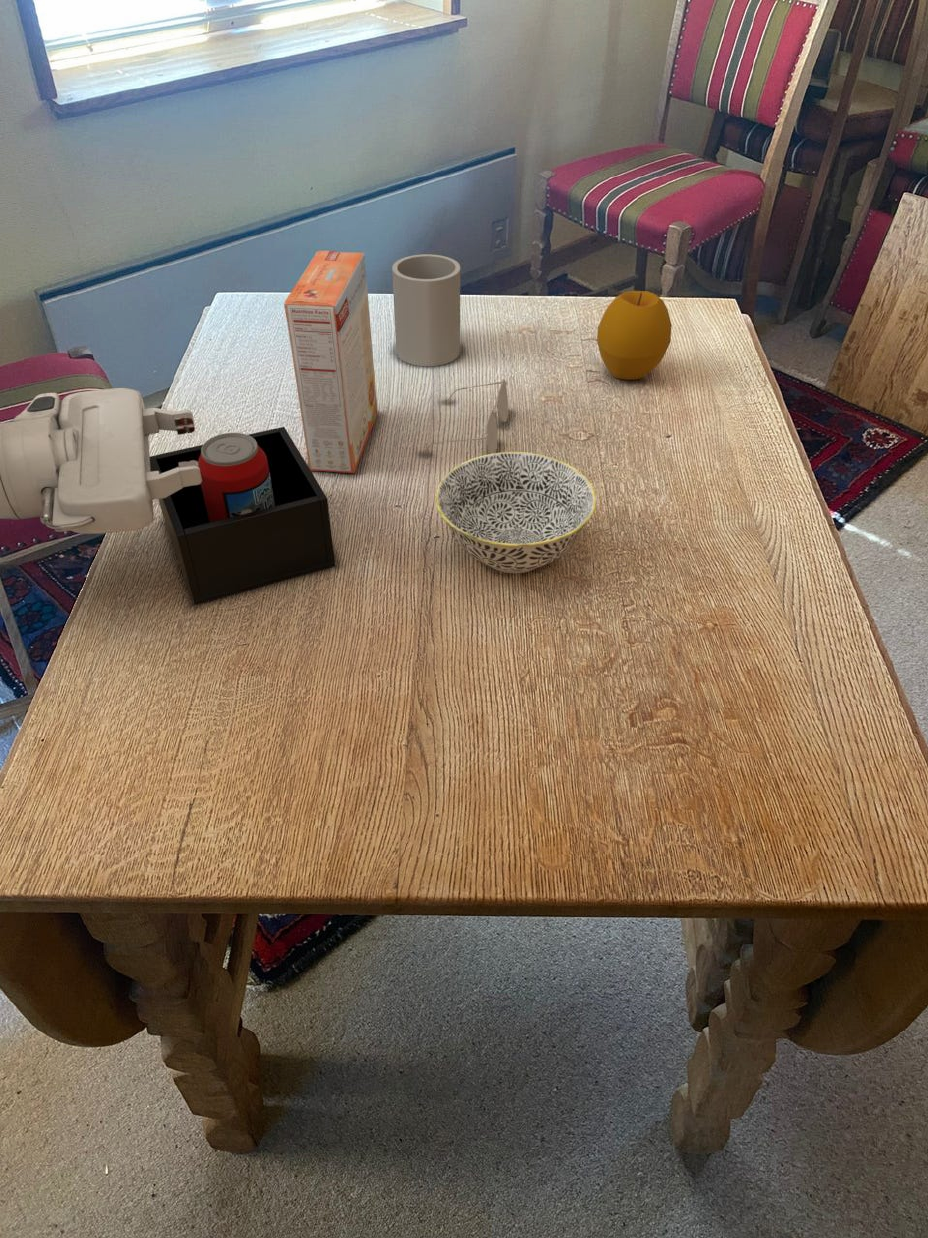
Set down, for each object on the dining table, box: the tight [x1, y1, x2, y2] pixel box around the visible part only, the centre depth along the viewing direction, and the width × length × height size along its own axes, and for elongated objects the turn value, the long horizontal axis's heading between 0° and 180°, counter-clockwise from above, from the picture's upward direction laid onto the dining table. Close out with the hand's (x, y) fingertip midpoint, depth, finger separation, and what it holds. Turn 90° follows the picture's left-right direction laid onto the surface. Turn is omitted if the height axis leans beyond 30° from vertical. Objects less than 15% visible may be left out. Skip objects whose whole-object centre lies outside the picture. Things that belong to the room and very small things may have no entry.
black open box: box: [150, 426, 336, 606], centre depth 93 cm, size 15×15×9 cm
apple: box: [596, 290, 672, 381], centre depth 120 cm, size 10×10×12 cm
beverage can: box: [198, 432, 275, 523], centre depth 91 cm, size 7×7×12 cm
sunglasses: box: [422, 379, 509, 456], centre depth 112 cm, size 14×8×5 cm, turn 168°
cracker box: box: [283, 250, 379, 474], centre depth 104 cm, size 14×6×21 cm, turn 172°
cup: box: [391, 253, 461, 367], centre depth 125 cm, size 9×9×12 cm
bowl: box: [435, 451, 597, 574], centre depth 93 cm, size 16×16×8 cm
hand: (197, 445), depth 87 cm, fingers open, 8 cm apart
